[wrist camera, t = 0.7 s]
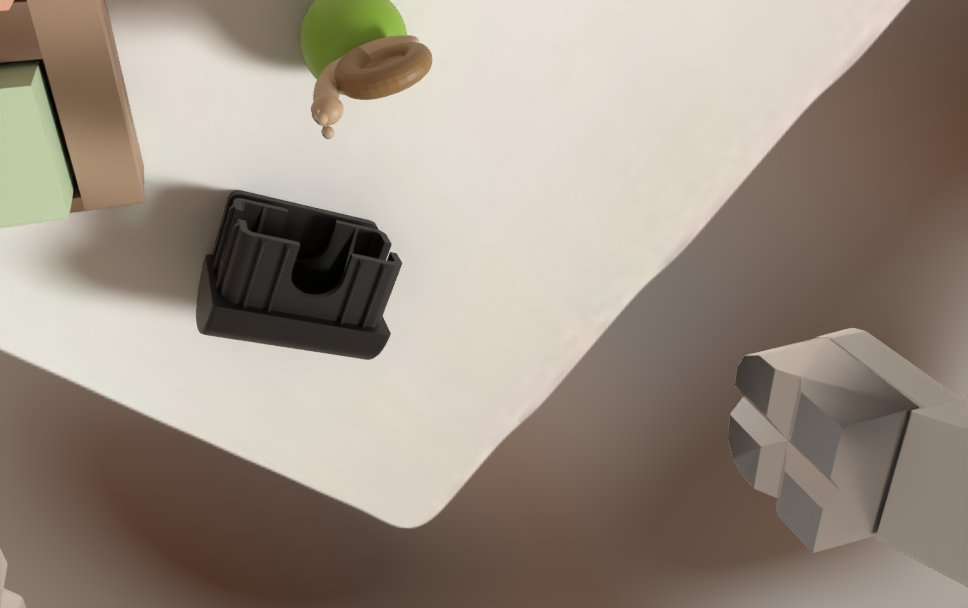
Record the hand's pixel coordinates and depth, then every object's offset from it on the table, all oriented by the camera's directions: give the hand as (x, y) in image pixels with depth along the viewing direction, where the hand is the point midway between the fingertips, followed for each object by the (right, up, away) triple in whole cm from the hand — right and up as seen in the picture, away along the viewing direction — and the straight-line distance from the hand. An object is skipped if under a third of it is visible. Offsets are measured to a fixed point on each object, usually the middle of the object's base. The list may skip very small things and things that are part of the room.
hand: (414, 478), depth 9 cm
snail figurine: (-7, +16, +37) cm, 41 cm away
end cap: (-11, +5, +43) cm, 44 cm away
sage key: (-22, +10, +30) cm, 38 cm away
